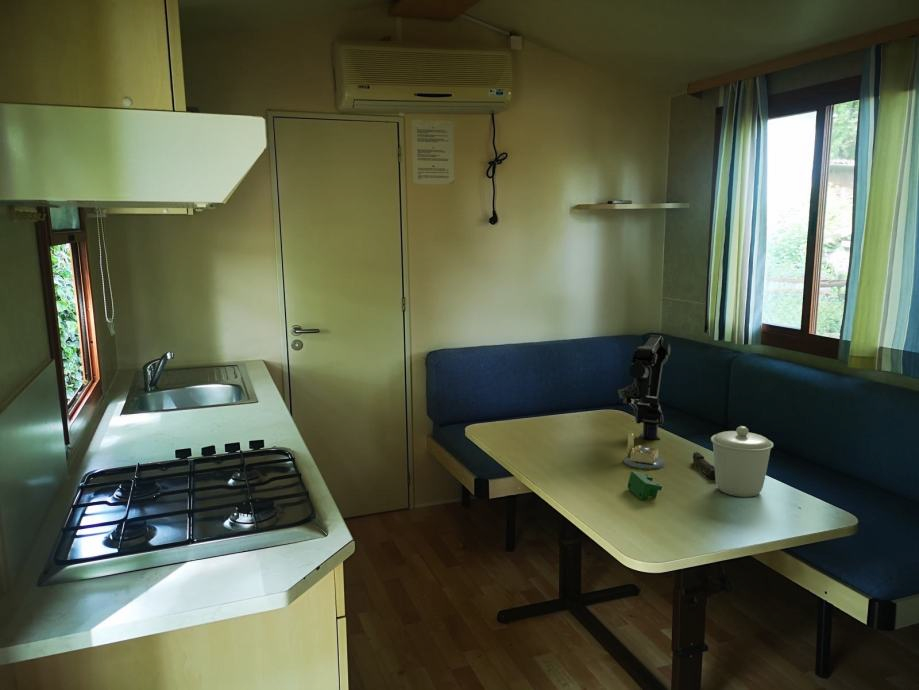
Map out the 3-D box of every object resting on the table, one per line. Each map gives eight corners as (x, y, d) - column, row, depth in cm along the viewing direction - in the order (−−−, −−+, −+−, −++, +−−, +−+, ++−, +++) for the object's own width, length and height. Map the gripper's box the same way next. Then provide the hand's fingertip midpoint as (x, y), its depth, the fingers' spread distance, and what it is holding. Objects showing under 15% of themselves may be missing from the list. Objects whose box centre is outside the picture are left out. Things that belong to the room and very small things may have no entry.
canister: (740, 478, 232) (744, 416, 229) (783, 497, 215) (788, 431, 212) (695, 485, 226) (699, 422, 222) (736, 505, 209) (740, 437, 206)
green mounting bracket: (653, 512, 215) (665, 490, 211) (635, 508, 214) (647, 487, 210) (642, 485, 226) (654, 464, 221) (625, 481, 225) (637, 460, 220)
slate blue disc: (629, 454, 257) (629, 440, 256) (668, 460, 251) (668, 445, 250) (619, 466, 245) (620, 450, 244) (660, 472, 239) (661, 456, 238)
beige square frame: (630, 453, 254) (630, 430, 253) (658, 457, 249) (659, 434, 248) (624, 459, 247) (625, 436, 246) (653, 464, 242) (654, 440, 241)
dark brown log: (721, 481, 230) (722, 468, 229) (709, 481, 230) (710, 467, 229) (701, 463, 249) (702, 450, 248) (690, 463, 249) (691, 450, 248)
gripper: (612, 379, 268) (608, 420, 266) (632, 377, 249) (627, 421, 248) (639, 383, 269) (635, 423, 268) (661, 382, 251) (657, 425, 250)
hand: (638, 423), depth 258 cm, fingers closed
